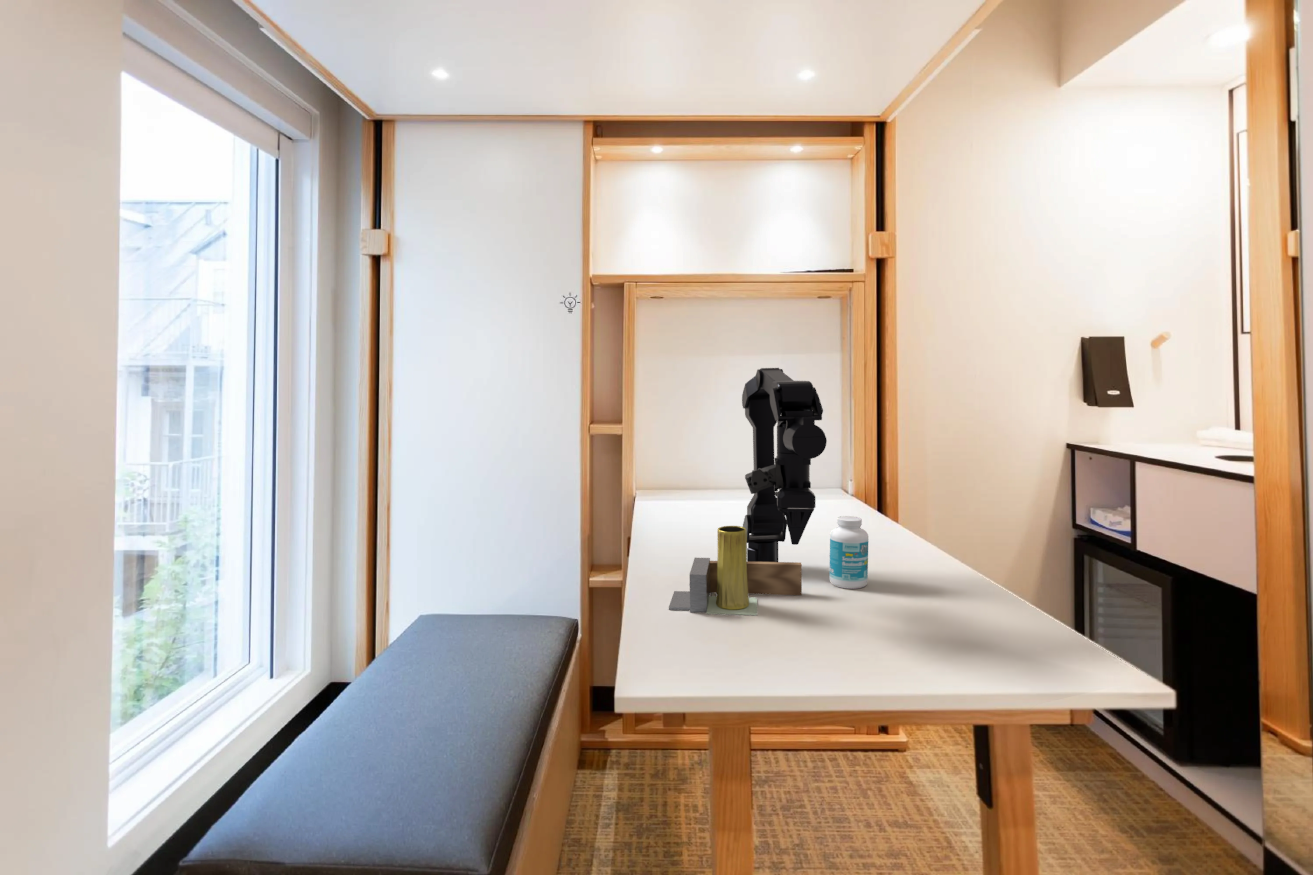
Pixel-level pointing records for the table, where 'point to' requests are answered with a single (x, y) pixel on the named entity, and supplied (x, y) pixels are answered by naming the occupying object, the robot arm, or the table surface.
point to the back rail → (767, 578)
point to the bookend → (694, 589)
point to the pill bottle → (849, 553)
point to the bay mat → (746, 611)
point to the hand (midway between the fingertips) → (793, 537)
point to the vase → (732, 568)
